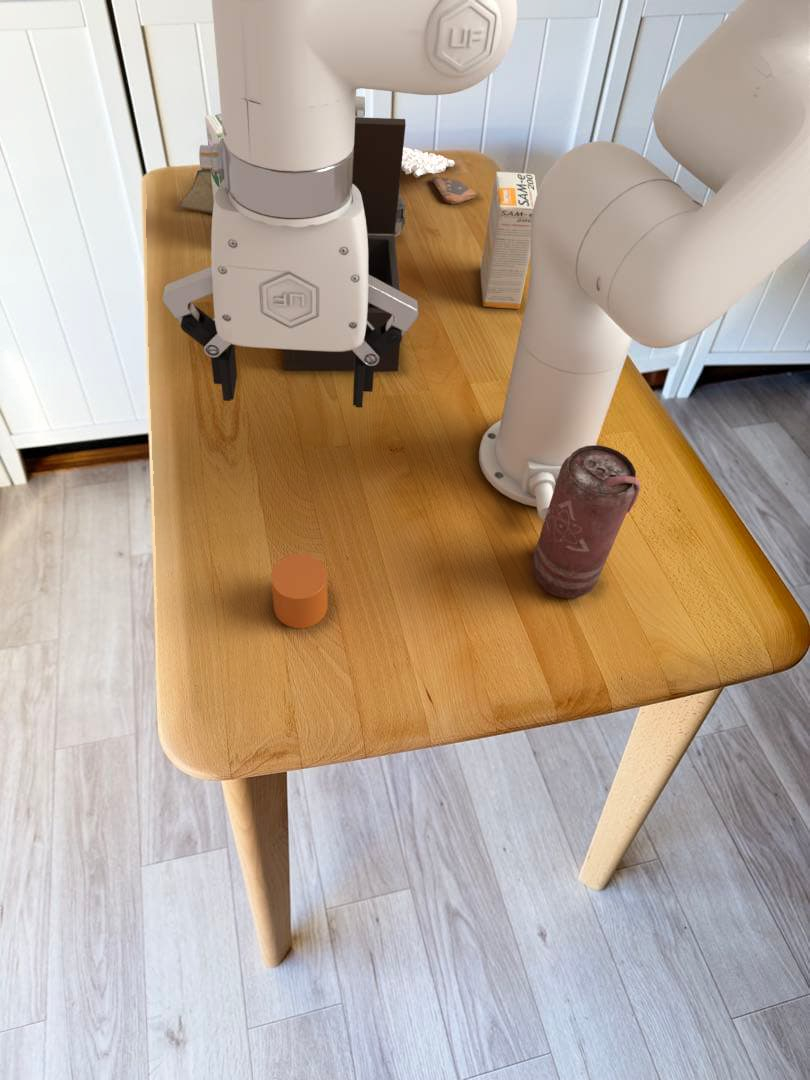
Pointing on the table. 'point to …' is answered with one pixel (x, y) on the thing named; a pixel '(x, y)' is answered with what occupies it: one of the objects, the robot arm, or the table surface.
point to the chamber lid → (378, 167)
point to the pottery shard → (453, 190)
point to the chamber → (385, 270)
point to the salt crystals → (423, 162)
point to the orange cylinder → (299, 590)
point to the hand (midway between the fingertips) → (294, 392)
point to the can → (583, 520)
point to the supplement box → (508, 240)
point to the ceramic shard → (200, 193)
